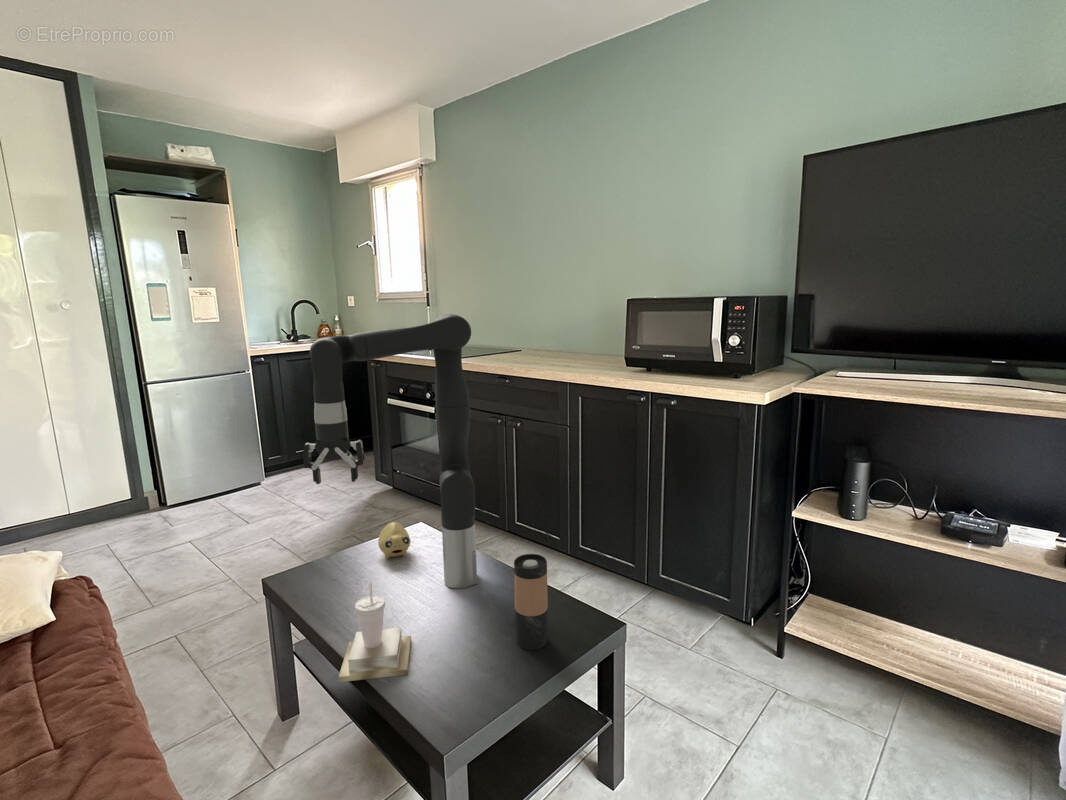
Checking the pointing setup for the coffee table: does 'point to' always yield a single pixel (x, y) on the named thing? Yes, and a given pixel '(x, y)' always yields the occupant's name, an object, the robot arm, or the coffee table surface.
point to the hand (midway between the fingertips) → (336, 482)
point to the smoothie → (371, 618)
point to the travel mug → (531, 601)
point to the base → (378, 672)
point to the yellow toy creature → (394, 540)
